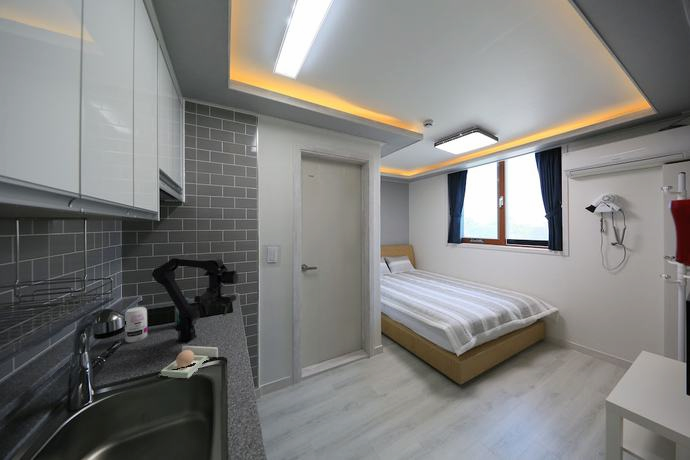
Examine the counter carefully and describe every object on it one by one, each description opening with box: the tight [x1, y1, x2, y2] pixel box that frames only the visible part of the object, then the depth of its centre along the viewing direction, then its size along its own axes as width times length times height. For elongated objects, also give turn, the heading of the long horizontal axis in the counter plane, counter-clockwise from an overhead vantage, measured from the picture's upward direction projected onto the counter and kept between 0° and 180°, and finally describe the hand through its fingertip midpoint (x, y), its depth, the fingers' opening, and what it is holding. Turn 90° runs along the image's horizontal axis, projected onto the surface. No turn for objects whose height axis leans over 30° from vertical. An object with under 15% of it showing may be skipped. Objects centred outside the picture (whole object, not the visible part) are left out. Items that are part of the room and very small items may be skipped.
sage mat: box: [158, 355, 211, 379], centre depth 93 cm, size 12×12×2 cm
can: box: [174, 296, 190, 327], centre depth 131 cm, size 6×6×15 cm
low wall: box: [181, 345, 219, 358], centre depth 101 cm, size 16×1×4 cm, turn 85°
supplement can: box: [124, 306, 148, 343], centre depth 115 cm, size 8×8×15 cm
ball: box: [175, 350, 194, 367], centre depth 93 cm, size 6×6×6 cm
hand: (215, 315), depth 115 cm, fingers open, 9 cm apart
